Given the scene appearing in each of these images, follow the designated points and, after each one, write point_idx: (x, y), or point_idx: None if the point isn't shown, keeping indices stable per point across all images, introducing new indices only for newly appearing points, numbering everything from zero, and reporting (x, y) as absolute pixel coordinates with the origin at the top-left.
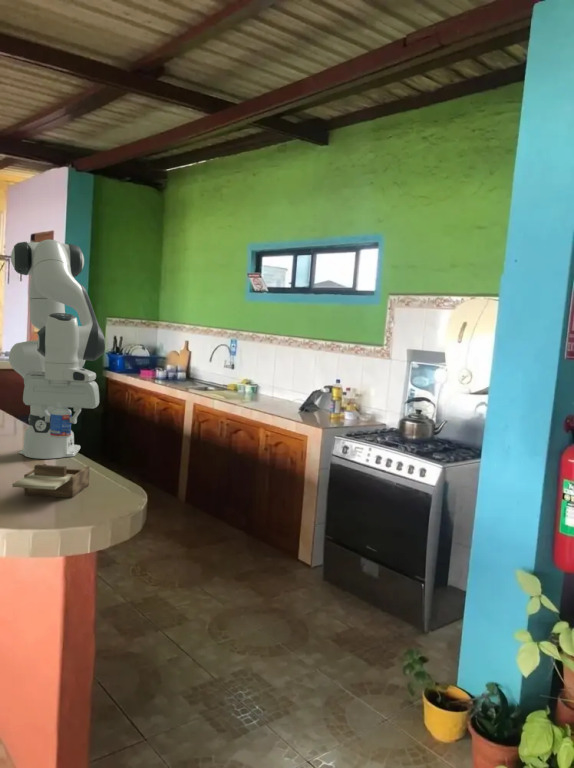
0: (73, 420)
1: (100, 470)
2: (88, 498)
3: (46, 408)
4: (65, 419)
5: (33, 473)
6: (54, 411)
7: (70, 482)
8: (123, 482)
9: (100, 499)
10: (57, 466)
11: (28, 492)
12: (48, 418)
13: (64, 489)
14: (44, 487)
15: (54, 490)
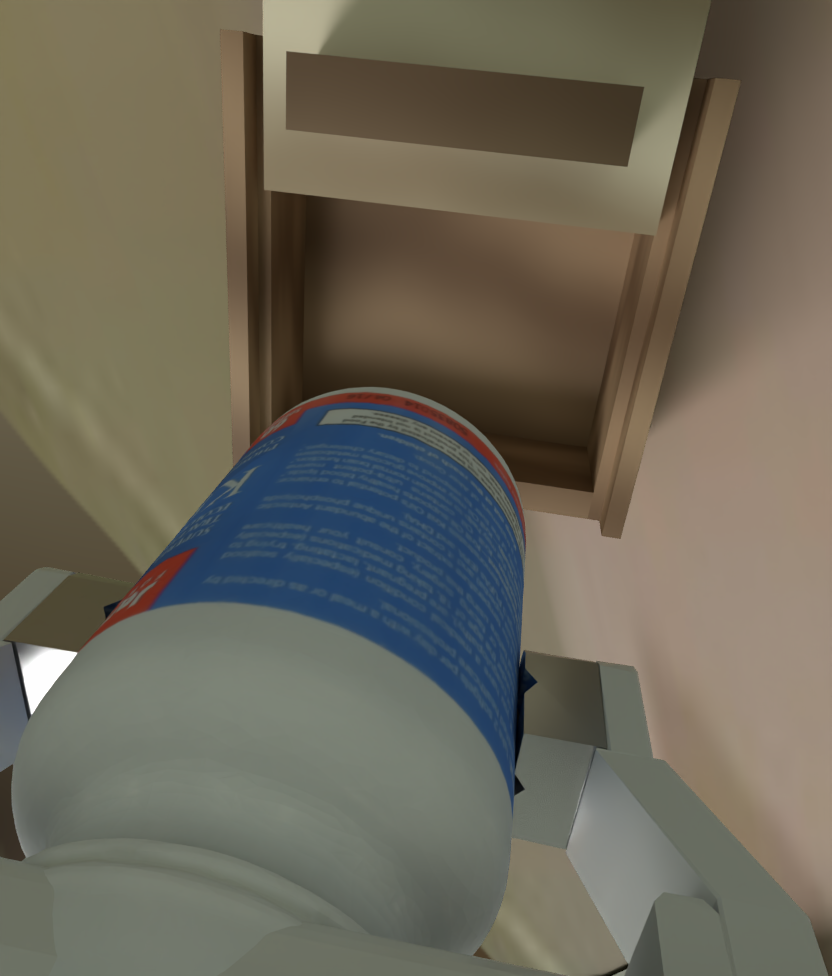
0: (28, 598)
1: None
2: (162, 43)
3: (645, 958)
4: (148, 577)
5: (653, 169)
6: (341, 716)
7: (261, 37)
8: (102, 502)
9: (66, 23)
10: (376, 104)
11: None
12: (561, 699)
13: None
14: None
15: None
